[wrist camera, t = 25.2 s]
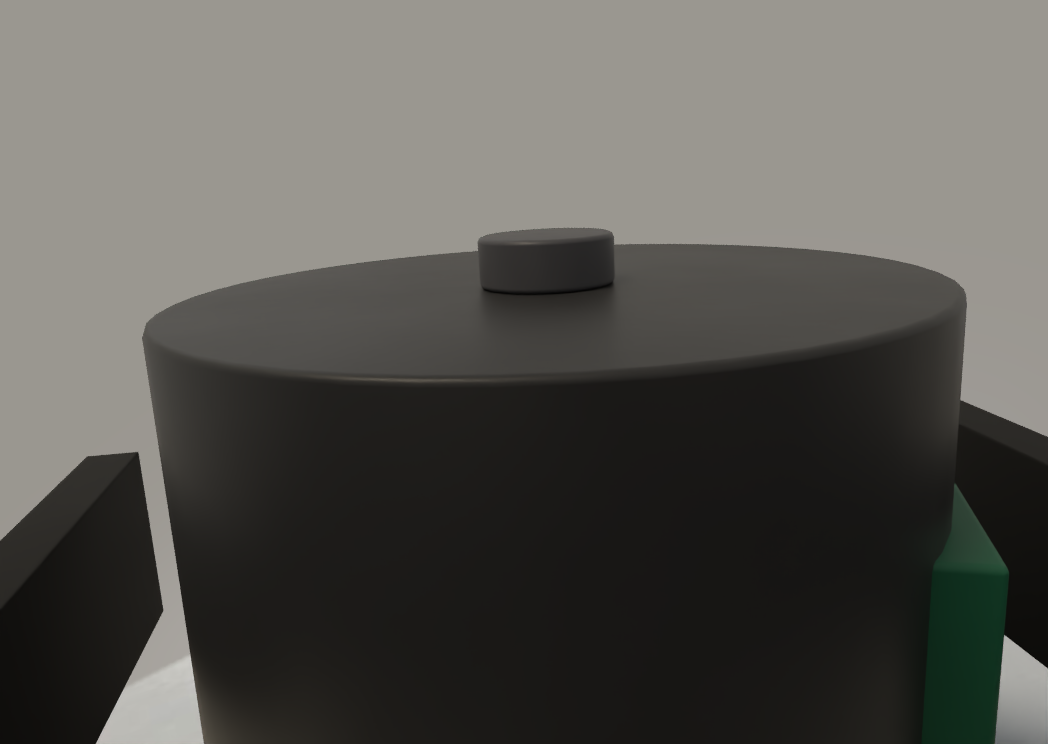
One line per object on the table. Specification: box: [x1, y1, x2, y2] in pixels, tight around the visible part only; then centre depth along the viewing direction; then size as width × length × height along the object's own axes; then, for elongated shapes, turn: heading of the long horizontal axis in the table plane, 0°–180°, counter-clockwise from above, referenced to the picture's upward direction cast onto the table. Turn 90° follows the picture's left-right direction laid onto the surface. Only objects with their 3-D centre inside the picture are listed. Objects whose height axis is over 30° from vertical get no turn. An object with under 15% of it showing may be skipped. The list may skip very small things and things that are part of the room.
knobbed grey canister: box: [142, 228, 1009, 744], centre depth 12 cm, size 9×9×11 cm
